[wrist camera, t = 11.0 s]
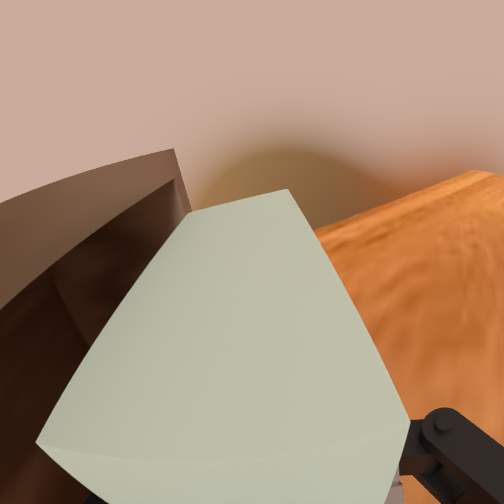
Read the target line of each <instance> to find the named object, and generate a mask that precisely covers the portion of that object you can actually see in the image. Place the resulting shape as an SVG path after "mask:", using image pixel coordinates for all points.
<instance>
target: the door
mask: <svg viewBox="0 0 504 504" xmlns="http://www.w3.org/2000/svg"><path fill="white" fill-rule="evenodd" d="M409 426H410V420H409V417H408V415H407V413H406V411H405V408H404V406H403V404H402V402H401V399H400V397H399V395H398V393H397V391H396V388H395V386H394V384H393V382H392V380H391V378H390V376H389V373H388V371H387V369H386V367H385V365H384V363H383V361H382V359H381V357H380V355H379V353H378V351H377V349H376V347H375V345H374V343H373V341H372V339H371V337H370V335H369V333H368V331H367V329H366V327H365V325H364V323H363V321H362V319H361V317H360V315H359V313H358V311H357V310H356V308H355V306H354V304H353V302H352V300H351V298H350V296H349V295H348V293H347V291H346V289H345V287H344V285H343V283H342V282H341V280H340V278H339V276H338V274H337V273H336V271H335V269H334V267H333V265H332V264H331V262H330V260H329V258H328V256H327V255H326V253H325V251H324V249H323V248H322V246H321V244H320V242H319V241H318V239H317V237H316V236H315V234H314V232H313V230H312V229H311V227H310V226H309V224H308V222H307V220H306V219H305V217H304V215H303V214H302V212H301V210H300V209H299V207H298V205H297V204H296V202H295V200H294V199H293V197H292V196H291V194H290V192H289V191H288V189H284V190H280V191H276V192H271V193H267V194H262V195H258V196H254V197H250V198H245V199H241V200H237V201H233V202H229V203H225V204H221V205H217V206H213V207H210V208H206V209H202V210H198V211H194V212H190V213H188V214H187V215H186V216H185V218H184V219H183V220H182V221H181V223H180V224H179V225H178V226H177V228H176V229H175V230H174V232H173V233H172V234H171V235H170V237H169V238H168V239H167V241H166V242H165V243H164V245H163V246H162V247H161V248H160V250H159V251H158V252H157V254H156V255H155V256H154V258H153V259H152V260H151V262H150V263H149V264H148V266H147V267H146V268H145V270H144V271H143V273H142V274H141V275H140V277H139V278H138V279H137V281H136V282H135V284H134V285H133V286H132V288H131V289H130V291H129V292H128V293H127V295H126V296H125V298H124V299H123V301H122V302H121V303H120V305H119V306H118V308H117V309H116V311H115V312H114V314H113V315H112V316H111V318H110V319H109V321H108V322H107V324H106V325H105V327H104V328H103V330H102V331H101V333H100V334H99V336H98V337H97V339H96V340H95V342H94V344H93V345H92V347H91V348H90V350H89V351H88V353H87V354H86V356H85V358H84V359H83V361H82V362H81V364H80V366H79V367H78V369H77V370H76V372H75V374H74V375H73V377H72V379H71V380H70V382H69V384H68V385H67V387H66V389H65V390H64V392H63V394H62V395H61V397H60V399H59V401H58V402H57V404H56V406H55V408H54V409H53V411H52V413H51V415H50V416H49V418H48V420H47V422H46V424H45V426H44V427H43V429H42V431H41V433H40V435H39V437H38V439H37V441H36V442H35V443H36V444H37V445H38V446H39V447H40V448H42V449H43V450H44V451H45V452H46V453H47V454H48V455H49V456H50V457H51V458H52V459H53V460H54V461H55V462H57V463H58V464H59V465H60V466H61V467H62V468H63V469H64V470H66V471H67V472H68V473H69V474H70V475H72V476H73V477H74V478H75V479H76V480H78V481H79V482H80V483H82V484H83V485H84V486H85V487H87V488H88V489H89V490H91V491H92V492H93V493H95V494H96V495H97V496H99V497H100V498H102V499H103V500H104V501H106V502H107V503H109V504H384V502H385V500H386V497H387V495H388V492H389V490H390V487H391V484H392V482H393V479H394V476H395V473H396V470H397V467H398V464H399V461H400V458H401V455H402V451H403V448H404V444H405V441H406V437H407V434H408V430H409Z"/></svg>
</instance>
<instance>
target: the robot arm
mask: <svg viewBox="0 0 504 504" xmlns="http://www.w3.org/2000/svg"><path fill="white" fill-rule="evenodd" d="M402 475H413V476H414V477H415V478H416V479H417V480H418V481H419V482H420V483H421V484H422V485H423V486H424V487H425V488H426V489H427V490H428V491H429V492H430V493H431V494H432V495H433V496H434V497H435V498H436V499H437V500H438V501H439V502H440V503H441V504H504V447H503V446H502V445H500V444H499V443H498V442H496V441H495V440H494V439H493V438H491V437H490V436H489V435H487V434H486V433H485V432H484V431H482V430H481V429H480V428H478V427H477V426H476V425H474V424H473V423H472V422H471V421H469V420H468V419H467V418H465V417H464V416H463V415H461V414H460V413H459V412H458V411H456V410H454V409H451V408H438V409H435V410H433V411H432V412H430V413H429V414H428V415H427V416H426V417H425V419H421V420H410V426H409V430H408V434H407V437H406V441H405V444H404V448H403V451H402V455H401V458H400V461H399V464H398V467H397V470H396V473H395V476H394V479H393V482H392V484H391V487H390V490H389V492H388V495H387V497H386V500H385V502H384V504H404V497H403V486H402V483H401V482H400V478H399V476H402ZM83 504H109V503H107V502H106V501H104V500H103V499H102V498H100V497H99V496H97V495H96V494H95V493H93V492H92V493H91V494H90V496H89V497H88V498H87V500H86V501H85V502H84V503H83Z"/></svg>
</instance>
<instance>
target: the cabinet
mask: <svg viewBox="0 0 504 504" xmlns="http://www.w3.org/2000/svg"><path fill="white" fill-rule="evenodd" d="M190 212H192V209H191V206H190V203H189V199H188V197H187V193H186V190H185V186H184V183H183V180H182V176H181V172H180V169H179V166H178V162H177V159H176V155H175V152H174V149H169V150H165V151H160V152H156V153H151V154H148V155H143V156H139V157H135V158H132V159H128V160H124V161H120V162H117V163H113V164H110V165H106V166H103V167H99V168H96V169H93V170H89V171H86V172H83V173H80V174H77V175H74V176H71V177H68V178H65V179H62V180H59V181H56V182H53V183H50V184H48V185H45V186H42V187H40V188H37V189H34V190H31V191H29V192H27V193H24V194H21V195H19V196H17V197H14V198H12V199H9V200H7V201H4V202H2V203H0V504H83V503H84V502H85V501H86V500H87V498H88V497H89V496H90V494H91V493H92V491H91V490H89V489H88V488H87V487H85V486H84V485H83V484H82V483H80V482H79V481H78V480H76V479H75V478H74V477H73V476H72V475H70V474H69V473H68V472H67V471H66V470H64V469H63V468H62V467H61V466H60V465H59V464H58V463H57V462H55V461H54V460H53V459H52V458H51V457H50V456H49V455H48V454H47V453H46V452H45V451H44V450H43V449H42V448H40V447H39V446H38V445H37V444H36V443H35V442H36V441H37V439H38V437H39V435H40V433H41V431H42V429H43V427H44V426H45V424H46V422H47V420H48V418H49V416H50V415H51V413H52V411H53V409H54V408H55V406H56V404H57V402H58V401H59V399H60V397H61V395H62V394H63V392H64V390H65V389H66V387H67V385H68V384H69V382H70V380H71V379H72V377H73V375H74V374H75V372H76V370H77V369H78V367H79V366H80V364H81V362H82V361H83V359H84V358H85V356H86V354H87V353H88V351H89V350H90V348H91V347H92V345H93V344H94V342H95V340H96V339H97V337H98V336H99V334H100V333H101V331H102V330H103V328H104V327H105V325H106V324H107V322H108V321H109V319H110V318H111V316H112V315H113V314H114V312H115V311H116V309H117V308H118V306H119V305H120V303H121V302H122V301H123V299H124V298H125V296H126V295H127V293H128V292H129V291H130V289H131V288H132V286H133V285H134V284H135V282H136V281H137V279H138V278H139V277H140V275H141V274H142V273H143V271H144V270H145V268H146V267H147V266H148V264H149V263H150V262H151V260H152V259H153V258H154V256H155V255H156V254H157V252H158V251H159V250H160V248H161V247H162V246H163V245H164V243H165V242H166V241H167V239H168V238H169V237H170V235H171V234H172V233H173V232H174V230H175V229H176V228H177V226H178V225H179V224H180V223H181V221H182V220H183V219H184V218H185V216H186V215H187V214H188V213H190Z"/></svg>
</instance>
